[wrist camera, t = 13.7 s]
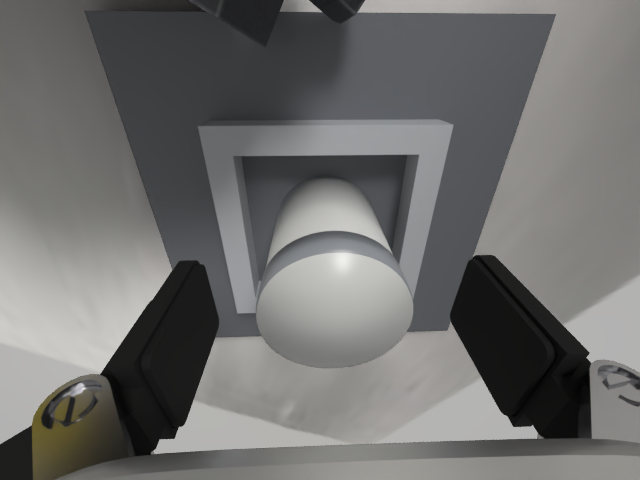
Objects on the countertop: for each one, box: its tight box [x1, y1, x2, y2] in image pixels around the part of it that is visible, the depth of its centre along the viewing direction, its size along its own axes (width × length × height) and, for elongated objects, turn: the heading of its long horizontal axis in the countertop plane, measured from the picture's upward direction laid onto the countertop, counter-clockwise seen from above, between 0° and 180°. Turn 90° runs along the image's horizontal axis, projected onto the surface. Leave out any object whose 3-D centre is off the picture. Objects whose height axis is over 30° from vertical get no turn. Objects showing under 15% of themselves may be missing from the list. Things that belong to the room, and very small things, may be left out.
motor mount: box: [85, 11, 556, 337], centre depth 15 cm, size 18×18×2 cm
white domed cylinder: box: [256, 176, 413, 368], centre depth 12 cm, size 5×5×7 cm
